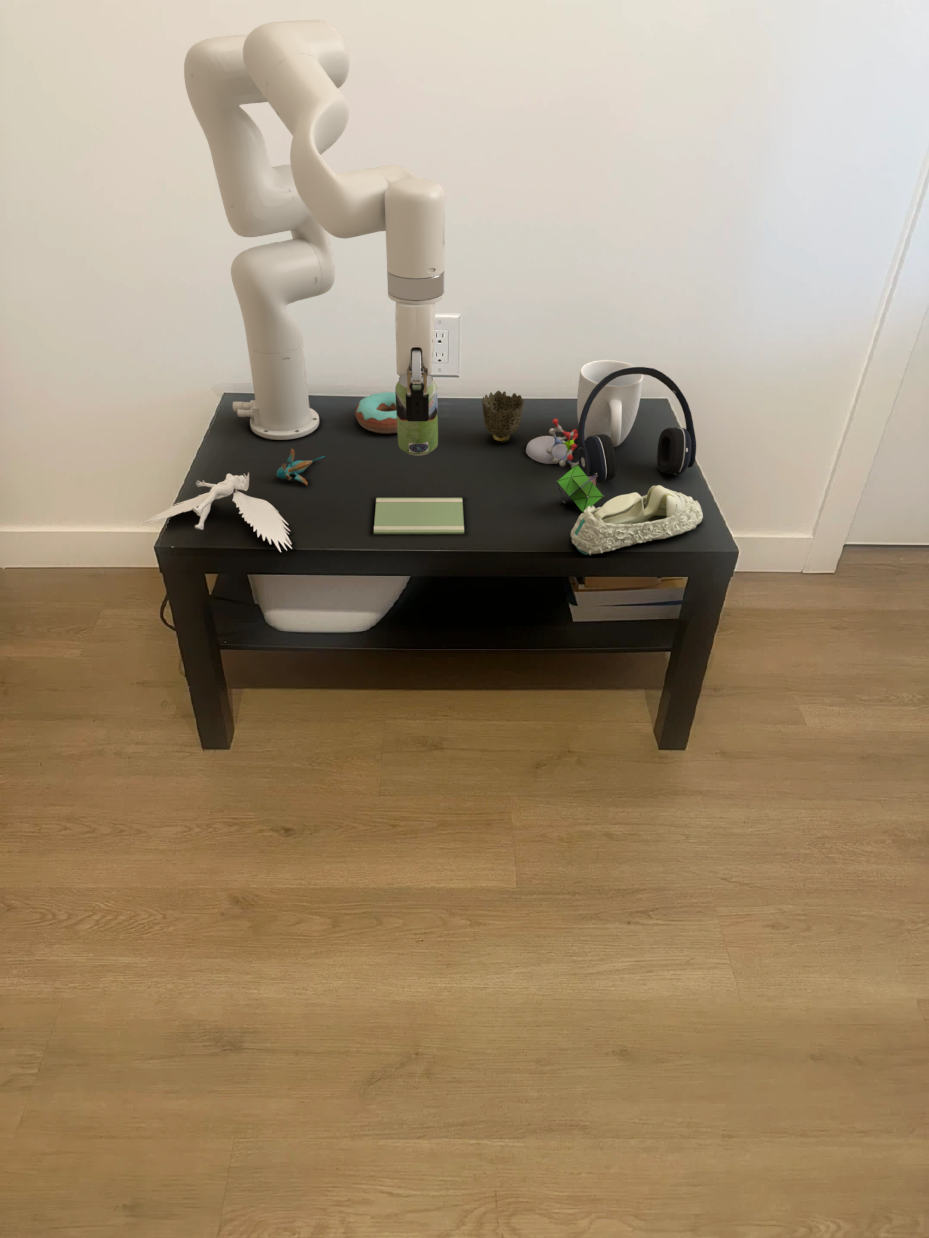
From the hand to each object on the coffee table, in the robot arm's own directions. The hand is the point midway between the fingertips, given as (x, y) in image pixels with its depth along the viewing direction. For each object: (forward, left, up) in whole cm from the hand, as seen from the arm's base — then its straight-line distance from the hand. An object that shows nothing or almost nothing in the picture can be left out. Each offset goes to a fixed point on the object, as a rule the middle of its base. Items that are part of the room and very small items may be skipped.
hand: (417, 408), depth 126 cm
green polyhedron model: (+26, -1, -15) cm, 30 cm away
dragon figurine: (-20, +13, -19) cm, 30 cm away
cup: (+15, +25, -19) cm, 35 cm away
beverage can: (0, 0, -7) cm, 7 cm away
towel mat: (0, 0, -19) cm, 19 cm away
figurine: (-32, -9, -10) cm, 34 cm away
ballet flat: (+34, -5, -19) cm, 40 cm away
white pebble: (+23, +21, -17) cm, 35 cm away
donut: (-6, +32, -19) cm, 38 cm away
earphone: (+37, +11, -18) cm, 43 cm away
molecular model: (+25, +21, -13) cm, 35 cm away
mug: (+33, +24, -19) cm, 45 cm away
